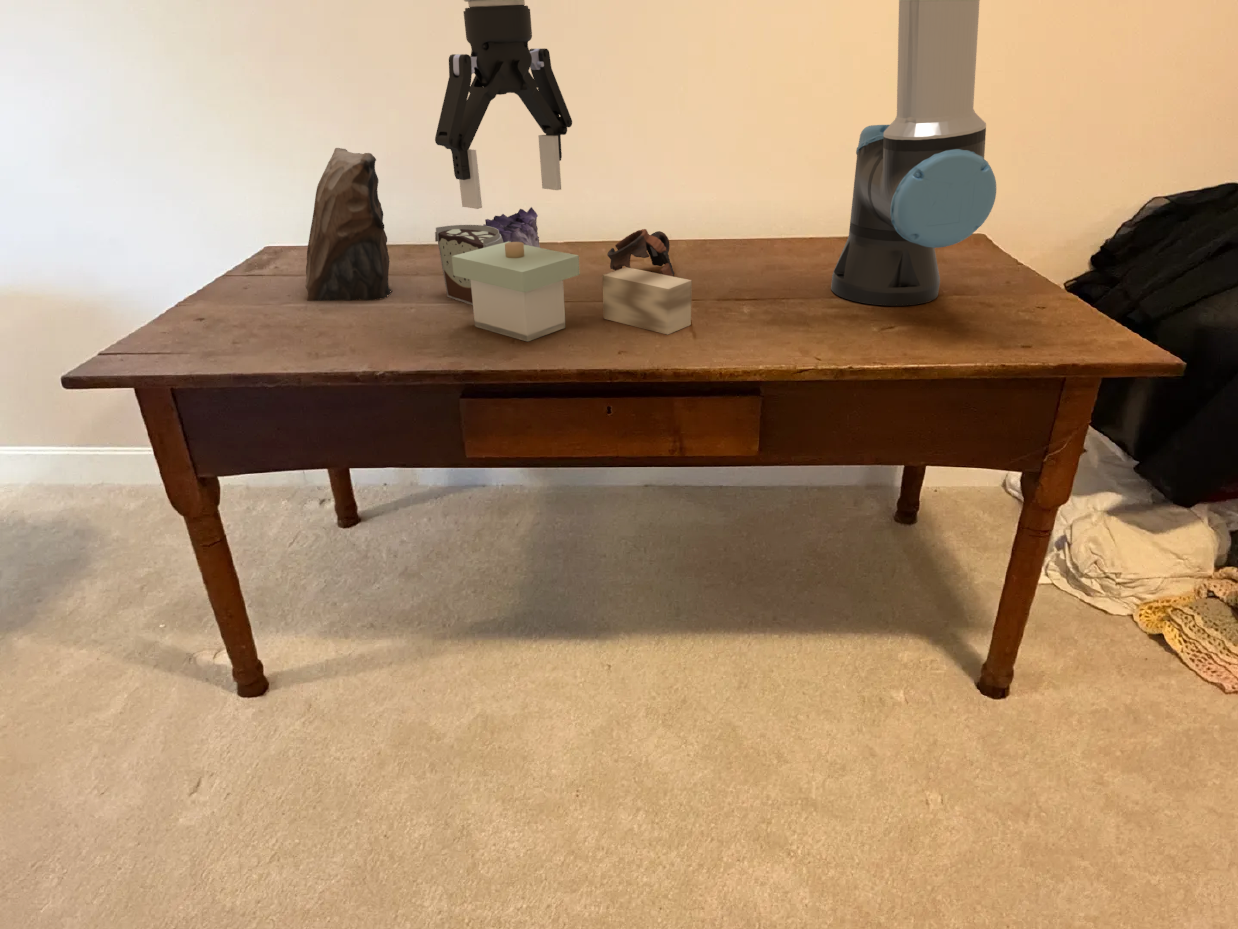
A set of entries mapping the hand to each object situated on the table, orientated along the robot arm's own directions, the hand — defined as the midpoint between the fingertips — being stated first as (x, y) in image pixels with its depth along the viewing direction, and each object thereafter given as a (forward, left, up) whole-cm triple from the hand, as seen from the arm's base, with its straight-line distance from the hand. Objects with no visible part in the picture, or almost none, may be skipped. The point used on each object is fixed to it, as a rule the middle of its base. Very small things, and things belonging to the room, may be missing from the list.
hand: (513, 198), depth 107 cm
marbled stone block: (-12, -12, -17) cm, 24 cm away
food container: (+14, -6, -17) cm, 23 cm away
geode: (+23, -19, -17) cm, 35 cm away
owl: (+33, +4, -17) cm, 38 cm away
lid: (0, 0, -10) cm, 10 cm away
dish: (0, 0, -17) cm, 17 cm away
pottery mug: (+3, -30, -17) cm, 35 cm away
